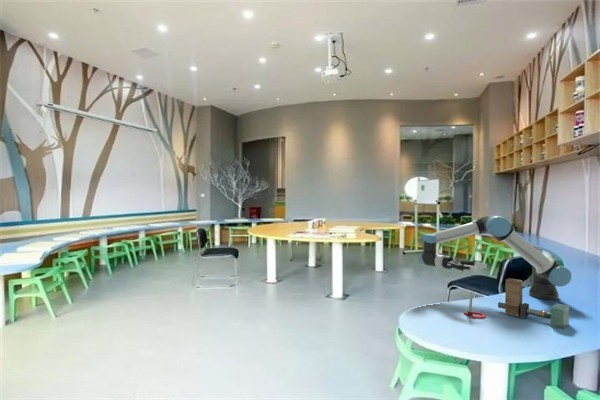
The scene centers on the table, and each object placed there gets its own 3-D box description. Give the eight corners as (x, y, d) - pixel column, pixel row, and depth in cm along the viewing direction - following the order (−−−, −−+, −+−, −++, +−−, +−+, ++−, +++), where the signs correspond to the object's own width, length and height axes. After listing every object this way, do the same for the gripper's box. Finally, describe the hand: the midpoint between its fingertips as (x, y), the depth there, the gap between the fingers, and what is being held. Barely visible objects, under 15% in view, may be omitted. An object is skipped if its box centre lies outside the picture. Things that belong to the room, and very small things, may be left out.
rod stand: (502, 309, 187) (502, 292, 187) (568, 324, 165) (568, 305, 165) (495, 313, 181) (495, 296, 181) (563, 329, 159) (563, 310, 159)
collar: (524, 314, 178) (524, 302, 177) (528, 315, 176) (528, 303, 176) (520, 317, 174) (520, 305, 174) (525, 318, 172) (525, 306, 172)
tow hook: (476, 313, 182) (462, 314, 179) (477, 288, 182) (463, 289, 179) (489, 318, 174) (475, 319, 171) (491, 293, 174) (476, 293, 171)
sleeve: (509, 311, 183) (509, 278, 183) (522, 314, 178) (522, 280, 178) (505, 313, 179) (505, 279, 179) (518, 316, 174) (518, 282, 174)
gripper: (454, 265, 214) (490, 271, 198) (434, 270, 198) (471, 277, 182) (454, 253, 214) (490, 258, 198) (434, 257, 198) (472, 263, 182)
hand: (481, 267), depth 190 cm, fingers open, 13 cm apart
